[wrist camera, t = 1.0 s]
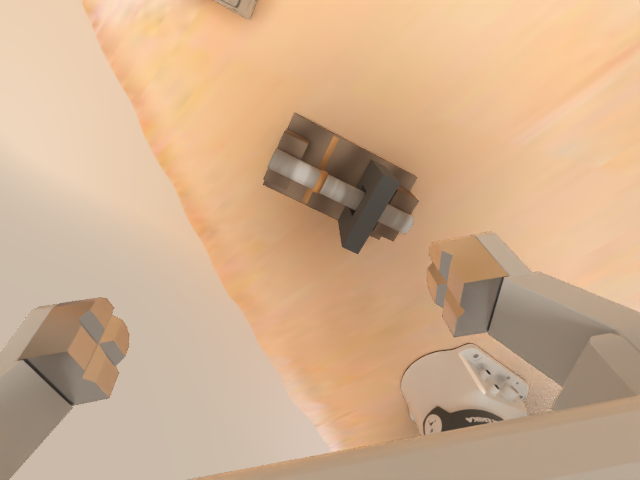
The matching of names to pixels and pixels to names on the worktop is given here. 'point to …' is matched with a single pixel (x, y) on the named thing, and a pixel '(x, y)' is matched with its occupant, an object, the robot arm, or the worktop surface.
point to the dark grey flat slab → (367, 206)
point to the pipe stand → (334, 176)
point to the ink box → (239, 6)
